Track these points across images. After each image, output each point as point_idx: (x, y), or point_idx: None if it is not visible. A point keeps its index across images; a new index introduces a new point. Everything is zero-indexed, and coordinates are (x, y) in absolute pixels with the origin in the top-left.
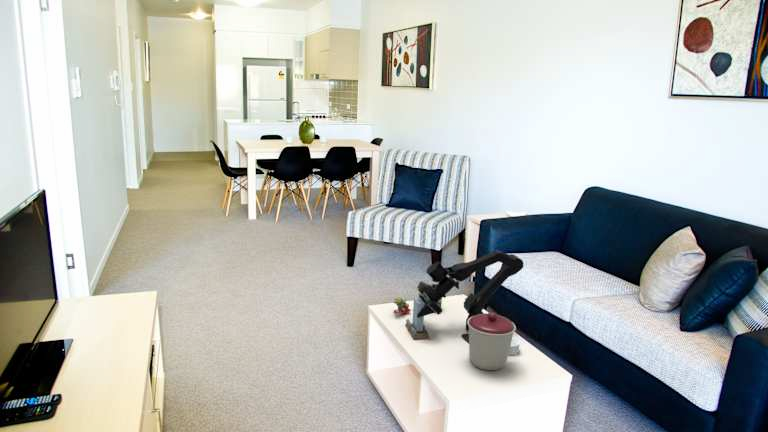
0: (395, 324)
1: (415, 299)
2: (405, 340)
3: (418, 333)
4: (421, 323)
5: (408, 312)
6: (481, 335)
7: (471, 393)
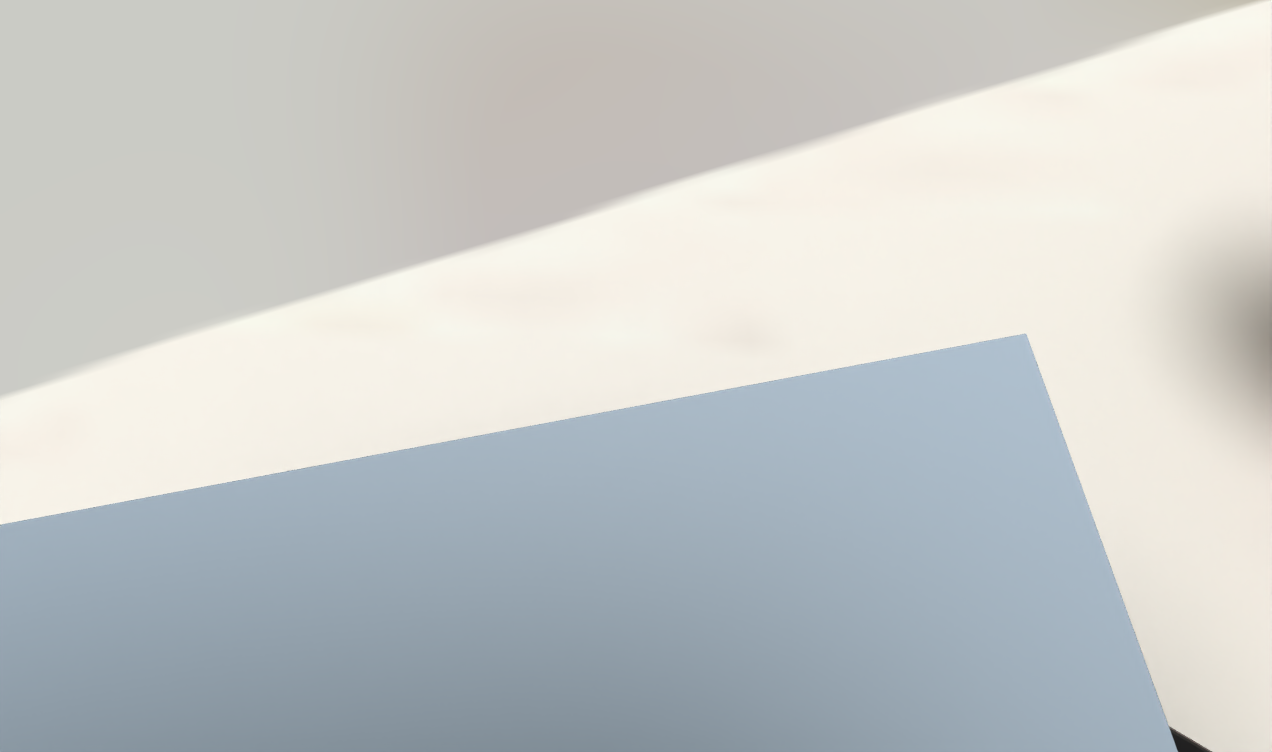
0: (909, 275)
1: (678, 468)
2: (216, 427)
3: None
4: None
5: None
6: None
7: None
